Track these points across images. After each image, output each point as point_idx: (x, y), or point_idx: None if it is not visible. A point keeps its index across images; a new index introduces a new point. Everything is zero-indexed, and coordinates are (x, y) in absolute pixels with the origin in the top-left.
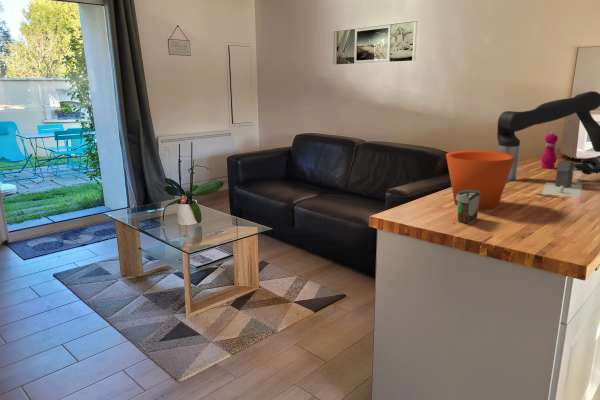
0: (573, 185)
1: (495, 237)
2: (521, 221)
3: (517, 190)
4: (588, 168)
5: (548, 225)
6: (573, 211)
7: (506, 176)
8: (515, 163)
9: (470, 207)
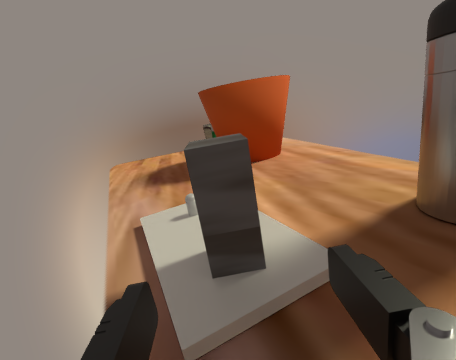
0: (215, 302)
1: (177, 154)
2: (179, 164)
3: (295, 190)
4: (121, 308)
5: (153, 170)
6: (140, 192)
7: (209, 118)
8: (431, 129)
9: (206, 136)
